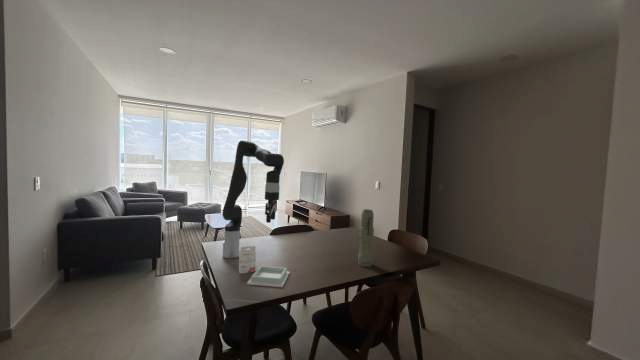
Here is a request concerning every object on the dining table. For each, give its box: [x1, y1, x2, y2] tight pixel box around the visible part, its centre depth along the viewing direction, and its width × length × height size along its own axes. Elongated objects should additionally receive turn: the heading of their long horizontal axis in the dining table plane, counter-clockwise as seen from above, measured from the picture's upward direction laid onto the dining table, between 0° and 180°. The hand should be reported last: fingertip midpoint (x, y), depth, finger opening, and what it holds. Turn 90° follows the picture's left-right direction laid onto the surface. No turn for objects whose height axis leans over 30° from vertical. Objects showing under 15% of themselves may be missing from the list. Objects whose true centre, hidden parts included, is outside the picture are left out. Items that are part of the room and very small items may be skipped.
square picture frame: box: [246, 265, 291, 288], centre depth 140 cm, size 18×18×4 cm
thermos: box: [357, 208, 375, 268], centre depth 167 cm, size 9×12×35 cm
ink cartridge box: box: [238, 245, 257, 274], centre depth 148 cm, size 9×5×15 cm, turn 113°
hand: (270, 220), depth 142 cm, fingers open, 8 cm apart
